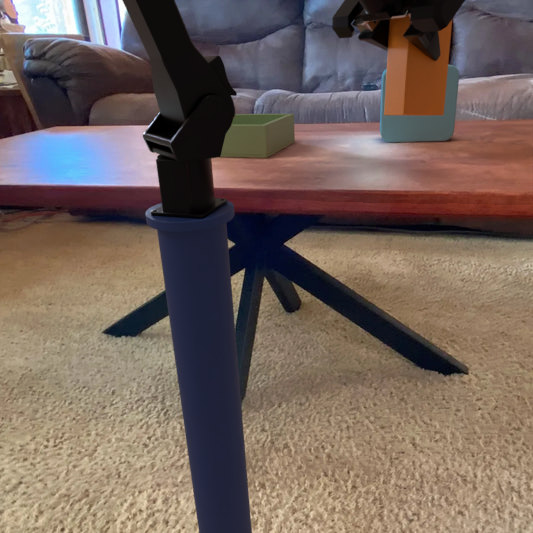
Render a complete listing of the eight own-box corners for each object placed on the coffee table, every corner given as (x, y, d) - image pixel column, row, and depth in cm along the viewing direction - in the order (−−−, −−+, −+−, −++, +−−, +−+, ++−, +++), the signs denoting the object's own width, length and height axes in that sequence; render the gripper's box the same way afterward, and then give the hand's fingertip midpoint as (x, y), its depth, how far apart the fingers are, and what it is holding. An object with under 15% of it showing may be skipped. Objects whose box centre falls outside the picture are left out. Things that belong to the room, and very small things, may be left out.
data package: (449, 136, 90) (455, 63, 85) (453, 141, 85) (460, 64, 81) (379, 138, 92) (381, 66, 87) (380, 142, 87) (383, 67, 83)
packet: (443, 115, 69) (453, 9, 66) (403, 114, 66) (410, 4, 63) (423, 115, 73) (431, 15, 69) (383, 115, 70) (389, 10, 66)
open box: (267, 158, 80) (265, 125, 78) (184, 156, 85) (181, 125, 83) (294, 142, 92) (294, 113, 90) (221, 141, 97) (219, 114, 95)
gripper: (470, -119, 52) (521, 3, 61) (350, -77, 66) (406, 16, 76) (409, -33, 51) (470, 77, 60) (301, -10, 66) (364, 76, 75)
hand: (424, 58), depth 68 cm, fingers closed on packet, 4 cm apart
